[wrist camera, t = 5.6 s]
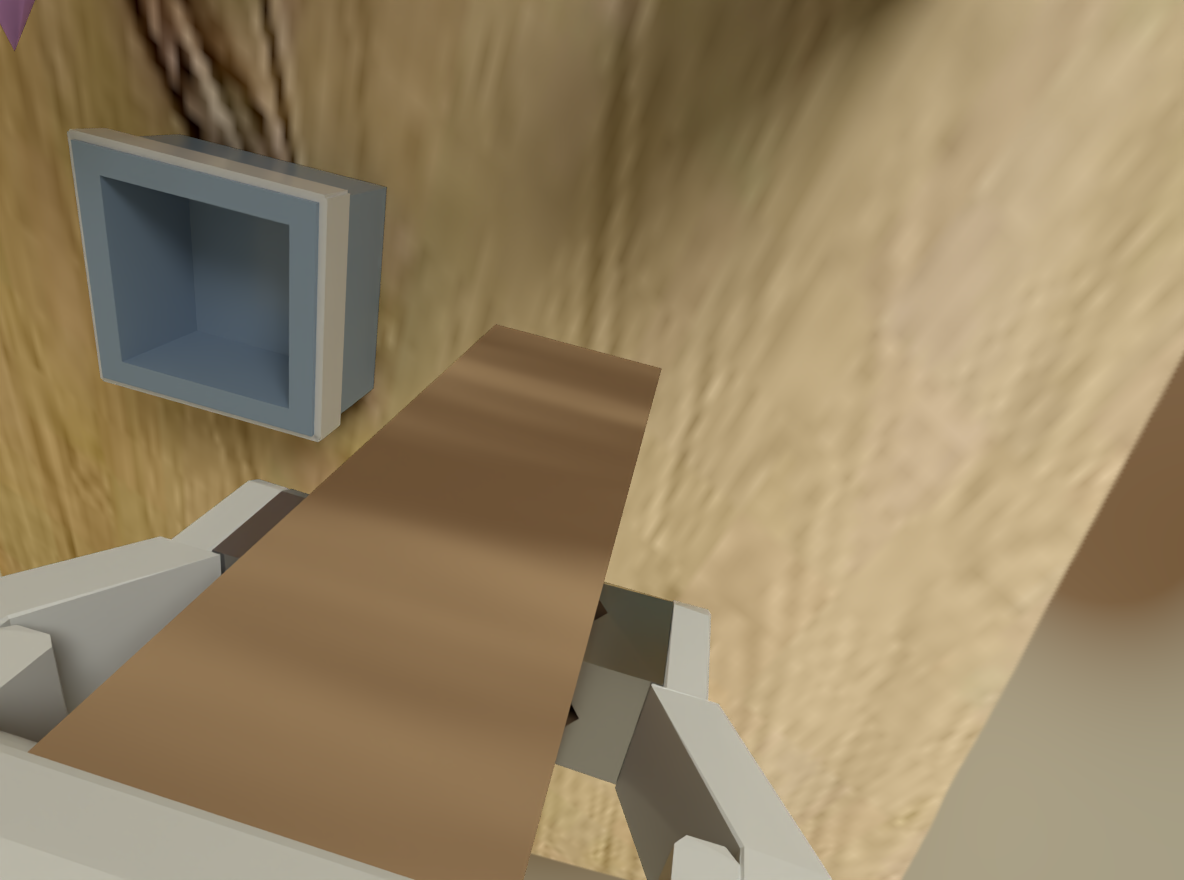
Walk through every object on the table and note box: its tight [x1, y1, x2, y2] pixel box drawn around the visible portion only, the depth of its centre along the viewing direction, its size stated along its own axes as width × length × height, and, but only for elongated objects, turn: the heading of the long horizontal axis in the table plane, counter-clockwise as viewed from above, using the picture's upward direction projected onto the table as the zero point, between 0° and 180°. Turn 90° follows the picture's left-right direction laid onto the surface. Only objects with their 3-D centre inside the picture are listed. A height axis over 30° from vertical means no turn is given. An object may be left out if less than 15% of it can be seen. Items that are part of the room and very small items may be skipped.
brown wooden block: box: [28, 325, 661, 880], centre depth 8 cm, size 4×4×14 cm
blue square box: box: [67, 128, 387, 442], centre depth 29 cm, size 10×10×6 cm
